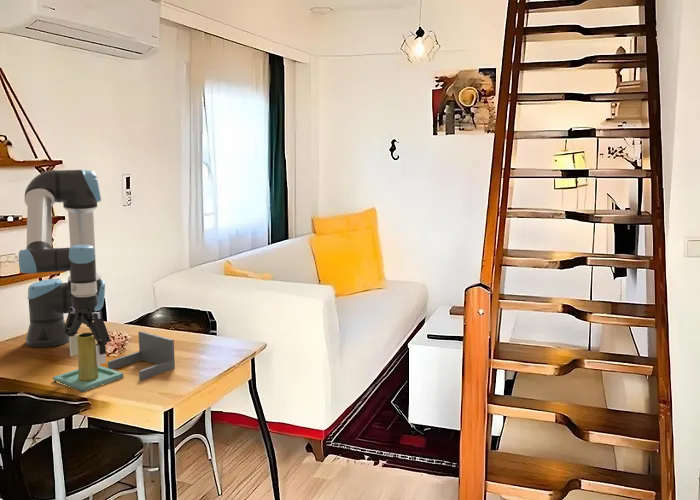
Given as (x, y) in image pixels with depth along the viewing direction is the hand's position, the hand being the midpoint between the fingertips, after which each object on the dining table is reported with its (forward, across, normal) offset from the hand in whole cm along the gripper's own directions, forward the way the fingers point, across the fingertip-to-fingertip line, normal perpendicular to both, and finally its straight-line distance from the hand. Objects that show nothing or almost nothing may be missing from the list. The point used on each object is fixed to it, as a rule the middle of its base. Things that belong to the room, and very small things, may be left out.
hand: (87, 359), depth 208 cm
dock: (+7, +6, +16) cm, 18 cm away
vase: (+6, 0, 0) cm, 6 cm away
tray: (+7, 0, 0) cm, 7 cm away
